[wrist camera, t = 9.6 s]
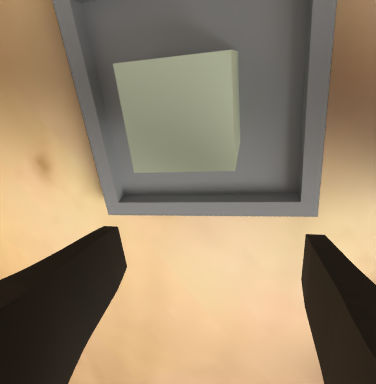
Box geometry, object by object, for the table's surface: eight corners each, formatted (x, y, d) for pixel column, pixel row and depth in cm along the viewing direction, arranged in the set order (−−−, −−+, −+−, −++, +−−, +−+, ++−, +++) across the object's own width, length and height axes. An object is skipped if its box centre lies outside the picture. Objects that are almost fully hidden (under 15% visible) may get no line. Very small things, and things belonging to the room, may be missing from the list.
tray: (332, -67, 13) (344, -87, 11) (311, 201, 19) (317, 216, 17) (69, -12, 16) (47, -20, 15) (120, 202, 22) (108, 214, 20)
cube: (238, 51, 15) (231, 49, 11) (240, 141, 17) (235, 171, 13) (151, 61, 16) (112, 63, 12) (162, 144, 19) (133, 172, 14)
